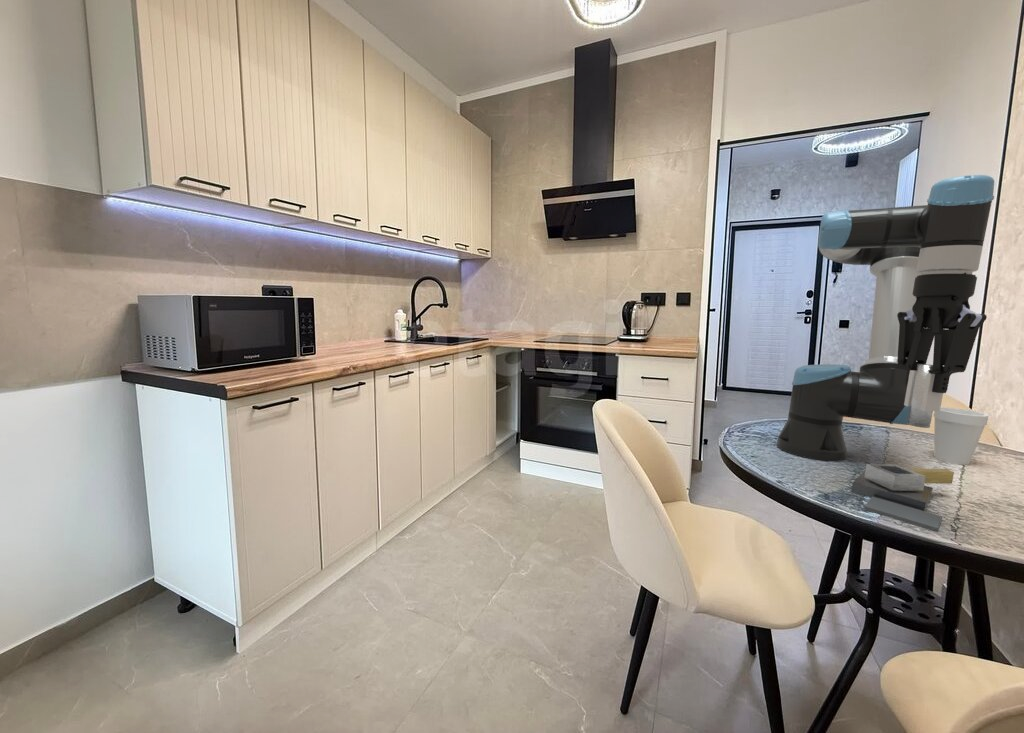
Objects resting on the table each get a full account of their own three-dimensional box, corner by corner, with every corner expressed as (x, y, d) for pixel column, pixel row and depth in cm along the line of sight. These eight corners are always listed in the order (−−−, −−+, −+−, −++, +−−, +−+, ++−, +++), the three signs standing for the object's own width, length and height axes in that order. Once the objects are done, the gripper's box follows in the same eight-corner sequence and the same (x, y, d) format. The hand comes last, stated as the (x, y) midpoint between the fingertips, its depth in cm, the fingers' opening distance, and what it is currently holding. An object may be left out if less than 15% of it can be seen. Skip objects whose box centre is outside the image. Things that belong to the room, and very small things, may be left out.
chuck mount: (851, 491, 89) (852, 482, 88) (863, 479, 96) (864, 470, 95) (923, 512, 80) (925, 502, 80) (931, 496, 87) (932, 487, 87)
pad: (863, 509, 81) (864, 506, 81) (871, 499, 85) (872, 496, 85) (937, 531, 73) (938, 528, 73) (941, 519, 78) (942, 516, 78)
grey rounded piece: (924, 451, 117) (933, 405, 115) (973, 460, 111) (983, 411, 110) (928, 460, 110) (938, 411, 108) (981, 470, 104) (991, 418, 102)
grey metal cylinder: (905, 424, 77) (915, 364, 75) (908, 422, 79) (919, 363, 77) (928, 428, 75) (939, 366, 73) (931, 426, 77) (942, 365, 75)
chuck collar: (892, 490, 84) (895, 475, 84) (864, 477, 91) (866, 463, 90) (964, 491, 85) (967, 476, 85) (931, 478, 92) (933, 464, 91)
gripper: (1021, 271, 65) (990, 420, 69) (923, 277, 81) (902, 399, 84) (973, 269, 65) (944, 419, 69) (884, 276, 81) (864, 397, 84)
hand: (921, 407), depth 76 cm, fingers closed on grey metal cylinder, 2 cm apart
